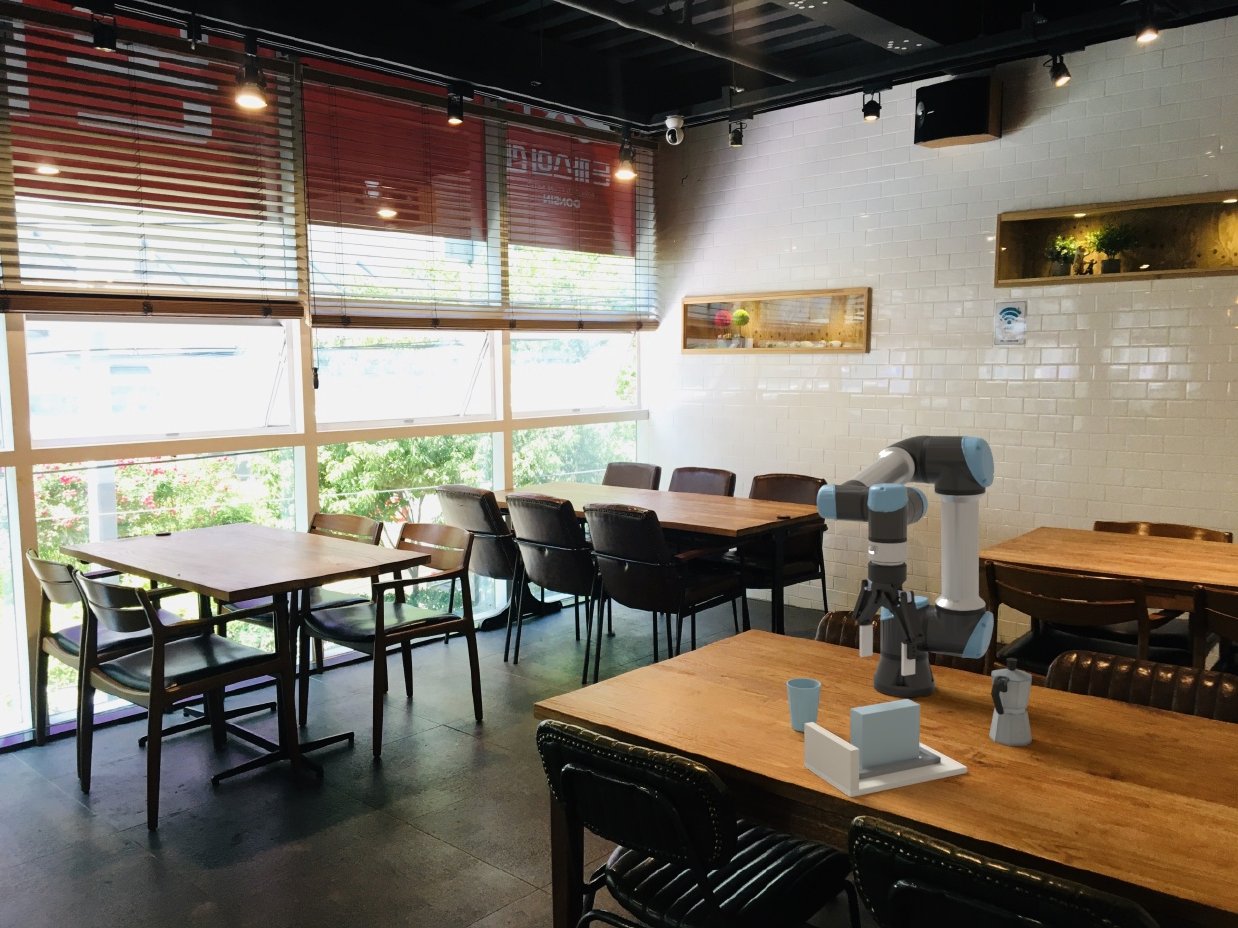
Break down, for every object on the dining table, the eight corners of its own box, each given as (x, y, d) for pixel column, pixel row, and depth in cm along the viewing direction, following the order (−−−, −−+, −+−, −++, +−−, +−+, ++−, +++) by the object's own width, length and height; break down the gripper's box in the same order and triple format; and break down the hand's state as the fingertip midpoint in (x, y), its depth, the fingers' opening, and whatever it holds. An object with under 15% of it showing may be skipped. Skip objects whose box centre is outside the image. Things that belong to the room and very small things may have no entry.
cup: (828, 730, 224) (827, 685, 223) (799, 735, 221) (799, 690, 220) (808, 719, 231) (808, 676, 230) (780, 725, 228) (780, 680, 227)
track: (915, 745, 215) (915, 703, 214) (967, 772, 200) (967, 728, 199) (804, 766, 204) (804, 723, 204) (850, 797, 190) (850, 750, 189)
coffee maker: (1003, 726, 225) (1005, 648, 223) (1042, 736, 219) (1044, 656, 217) (972, 744, 215) (974, 663, 213) (1012, 755, 208) (1014, 671, 207)
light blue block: (906, 754, 207) (907, 698, 205) (919, 761, 203) (920, 704, 202) (850, 765, 201) (850, 708, 200) (861, 773, 198) (862, 714, 197)
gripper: (835, 552, 209) (835, 651, 211) (912, 575, 186) (911, 685, 188) (865, 549, 212) (864, 646, 214) (944, 571, 189) (943, 679, 191)
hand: (886, 665), depth 201 cm, fingers open, 13 cm apart
